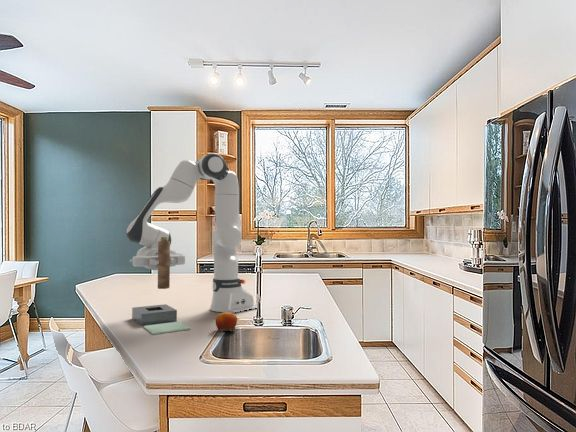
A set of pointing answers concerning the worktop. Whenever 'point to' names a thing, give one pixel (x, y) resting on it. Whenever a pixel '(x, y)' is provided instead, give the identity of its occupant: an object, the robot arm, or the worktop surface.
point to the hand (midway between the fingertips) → (164, 262)
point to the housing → (154, 314)
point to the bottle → (164, 263)
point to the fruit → (226, 321)
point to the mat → (166, 328)
